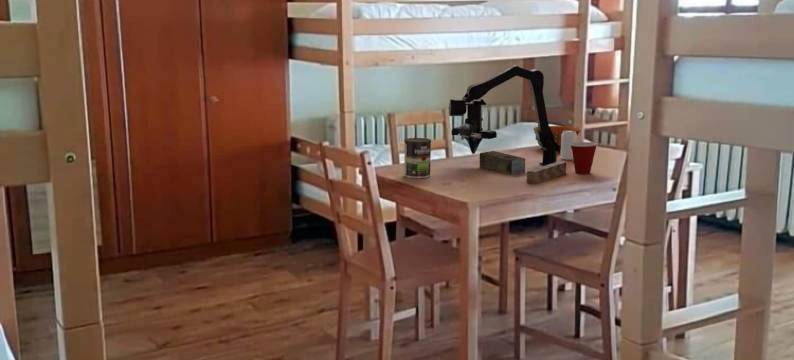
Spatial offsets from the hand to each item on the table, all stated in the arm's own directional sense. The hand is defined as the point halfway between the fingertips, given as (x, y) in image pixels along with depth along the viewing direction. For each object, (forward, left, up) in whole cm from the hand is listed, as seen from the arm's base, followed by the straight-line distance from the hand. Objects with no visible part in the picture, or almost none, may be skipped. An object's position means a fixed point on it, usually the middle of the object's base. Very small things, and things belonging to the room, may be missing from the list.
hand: (473, 153), depth 334 cm
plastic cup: (-15, +41, -5) cm, 44 cm away
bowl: (-57, +8, -5) cm, 58 cm away
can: (-39, +23, -5) cm, 46 cm away
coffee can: (+31, -6, -5) cm, 32 cm away
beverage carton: (0, +14, -5) cm, 15 cm away
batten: (+3, +35, -5) cm, 36 cm away
